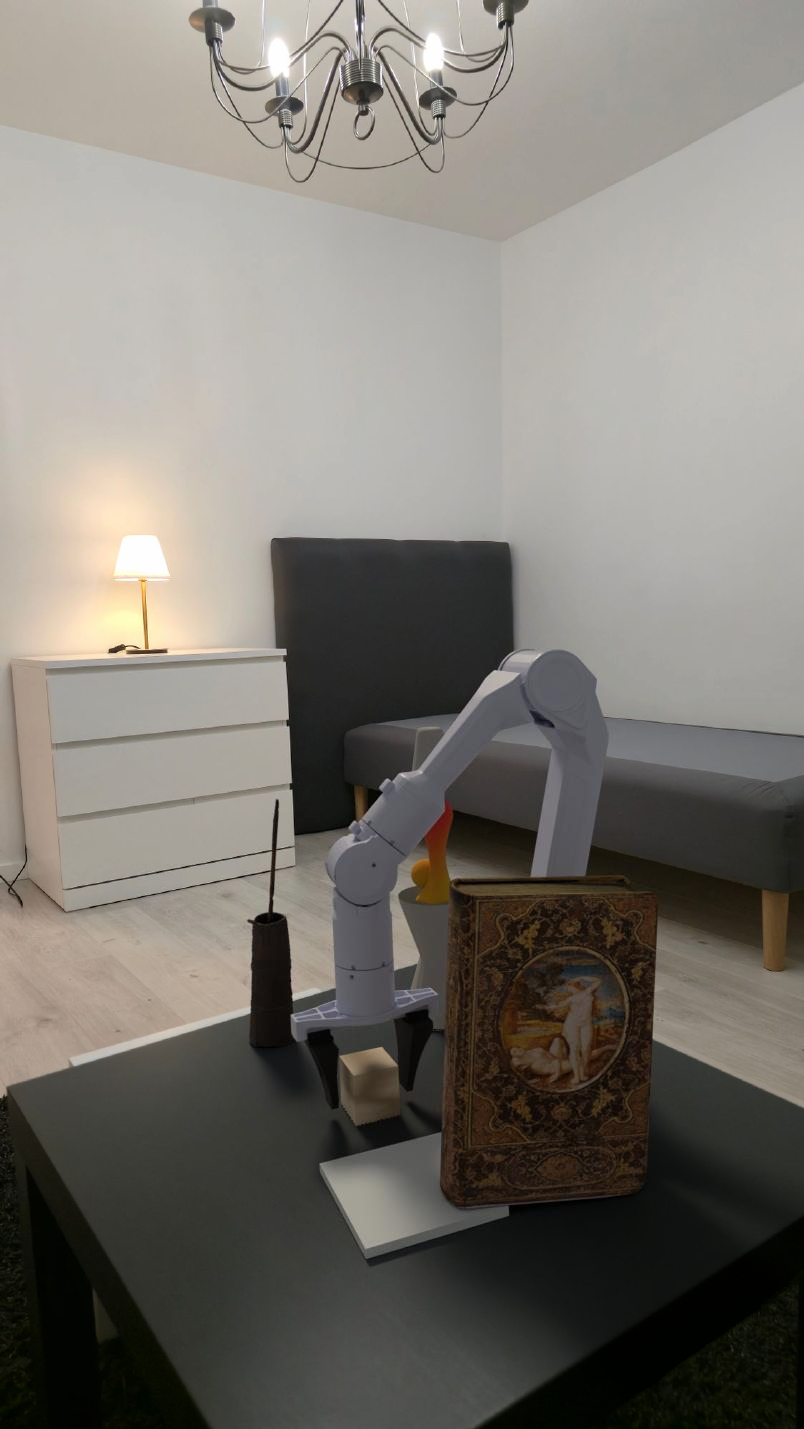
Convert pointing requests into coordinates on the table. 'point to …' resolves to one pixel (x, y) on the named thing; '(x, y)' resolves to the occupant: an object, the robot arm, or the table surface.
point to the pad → (398, 1196)
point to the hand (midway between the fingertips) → (369, 1095)
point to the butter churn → (271, 970)
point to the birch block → (369, 1085)
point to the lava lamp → (430, 894)
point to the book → (547, 1039)
